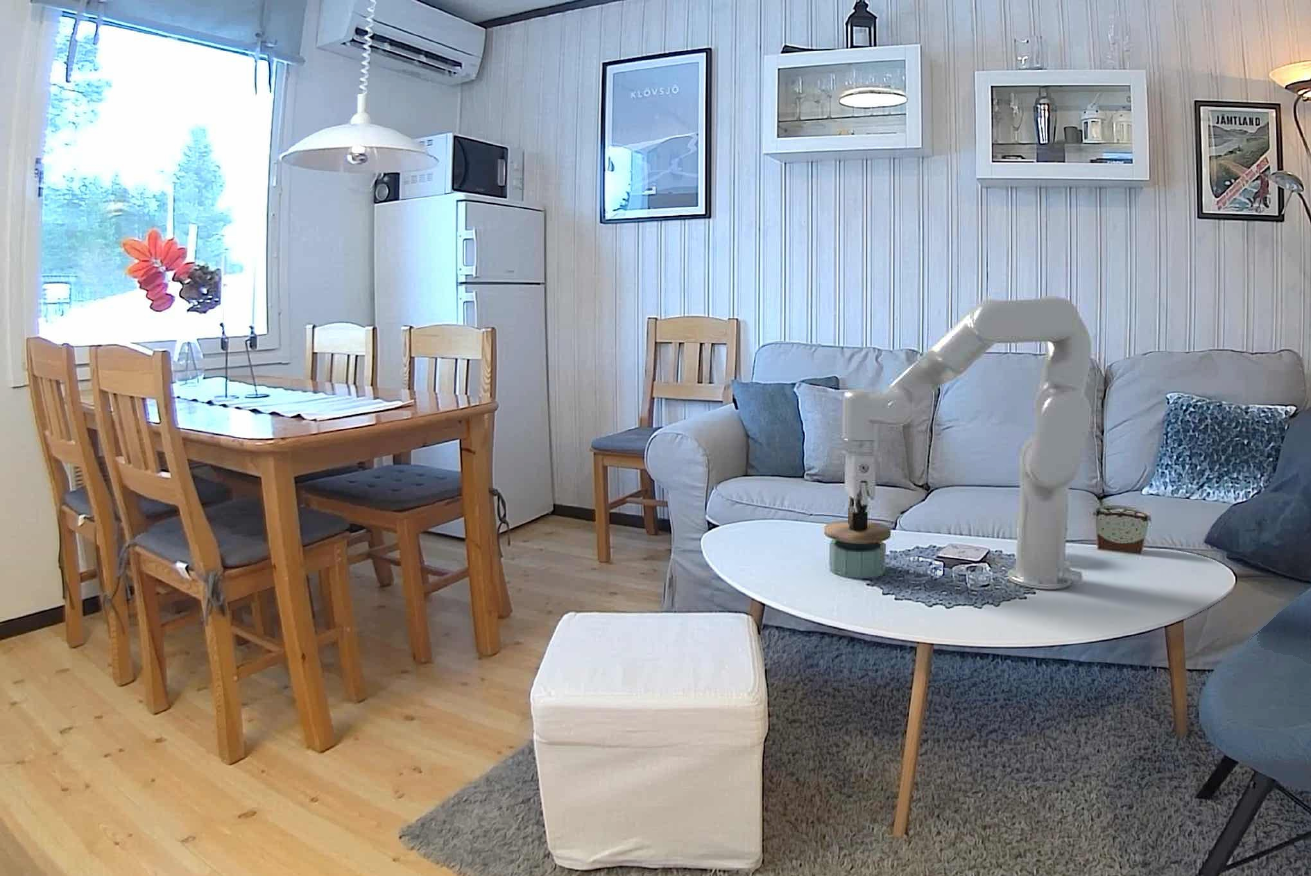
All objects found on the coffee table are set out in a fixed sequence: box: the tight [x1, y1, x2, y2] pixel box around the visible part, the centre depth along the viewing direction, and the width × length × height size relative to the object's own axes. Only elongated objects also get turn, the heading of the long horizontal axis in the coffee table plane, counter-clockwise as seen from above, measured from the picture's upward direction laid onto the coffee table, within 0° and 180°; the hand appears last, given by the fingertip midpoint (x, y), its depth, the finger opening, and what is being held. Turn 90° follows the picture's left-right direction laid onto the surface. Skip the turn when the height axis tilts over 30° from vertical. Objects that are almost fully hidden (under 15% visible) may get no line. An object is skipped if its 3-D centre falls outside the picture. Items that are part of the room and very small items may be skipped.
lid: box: [823, 506, 892, 544], centre depth 203 cm, size 14×14×7 cm
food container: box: [1092, 504, 1152, 556], centre depth 215 cm, size 12×6×10 cm, turn 58°
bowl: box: [828, 539, 887, 580], centre depth 204 cm, size 12×12×6 cm
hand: (857, 526), depth 203 cm, fingers closed on lid, 3 cm apart
